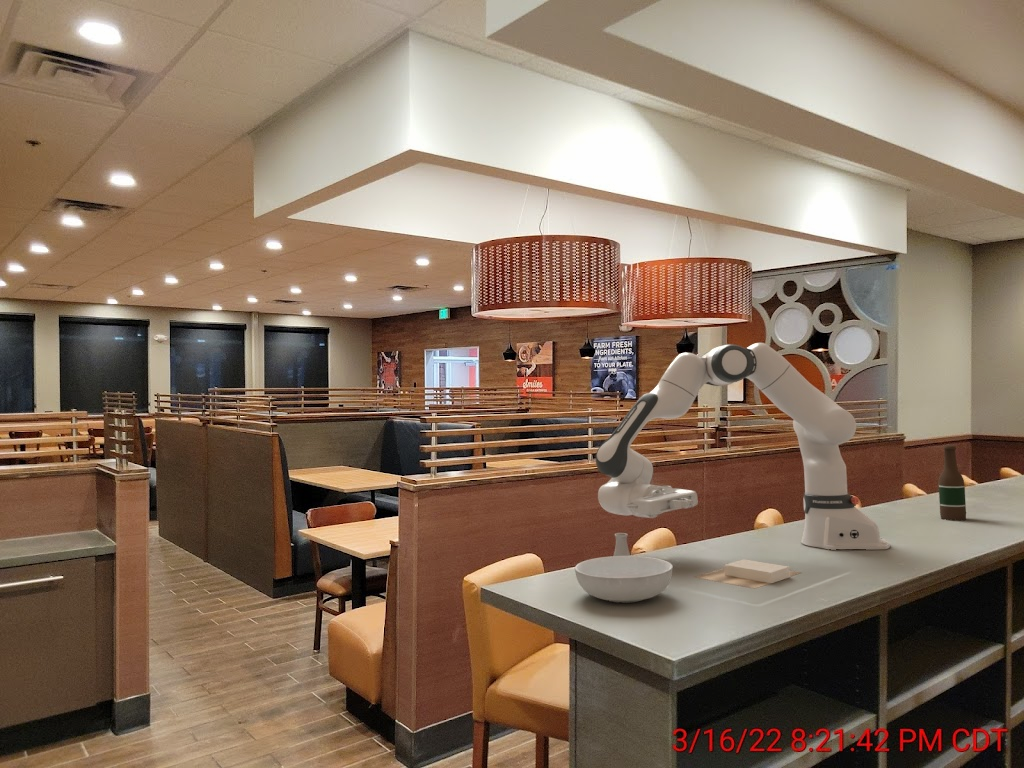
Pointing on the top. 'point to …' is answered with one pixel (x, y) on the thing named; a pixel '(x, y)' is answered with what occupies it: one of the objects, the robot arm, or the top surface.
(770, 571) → the tile
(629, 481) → the robot arm
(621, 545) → the flask
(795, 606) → the top surface
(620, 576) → the serving bowl
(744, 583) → the wooden board
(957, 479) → the beer bottle
